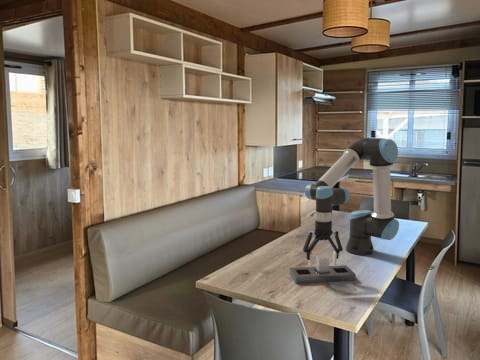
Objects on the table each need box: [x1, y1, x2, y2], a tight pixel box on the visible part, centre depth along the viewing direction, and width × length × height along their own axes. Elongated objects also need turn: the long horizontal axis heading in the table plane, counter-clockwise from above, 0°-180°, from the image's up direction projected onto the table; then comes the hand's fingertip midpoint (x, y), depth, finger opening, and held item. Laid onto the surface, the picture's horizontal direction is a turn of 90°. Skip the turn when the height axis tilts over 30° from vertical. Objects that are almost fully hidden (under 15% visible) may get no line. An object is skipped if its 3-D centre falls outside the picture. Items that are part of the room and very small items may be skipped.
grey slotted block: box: [289, 264, 357, 285], centre depth 194 cm, size 28×12×4 cm, turn 96°
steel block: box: [315, 254, 330, 274], centre depth 193 cm, size 5×5×10 cm
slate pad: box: [327, 281, 358, 292], centre depth 184 cm, size 10×10×1 cm
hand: (322, 265), depth 193 cm, fingers open, 11 cm apart
